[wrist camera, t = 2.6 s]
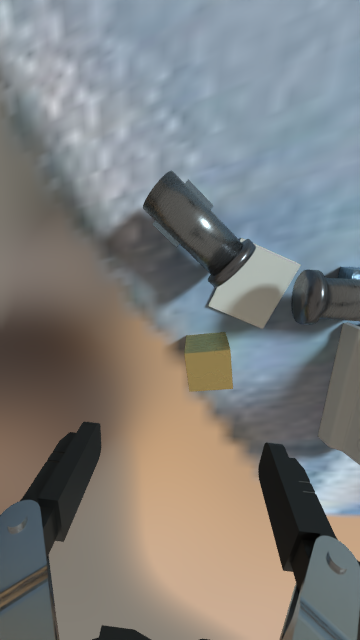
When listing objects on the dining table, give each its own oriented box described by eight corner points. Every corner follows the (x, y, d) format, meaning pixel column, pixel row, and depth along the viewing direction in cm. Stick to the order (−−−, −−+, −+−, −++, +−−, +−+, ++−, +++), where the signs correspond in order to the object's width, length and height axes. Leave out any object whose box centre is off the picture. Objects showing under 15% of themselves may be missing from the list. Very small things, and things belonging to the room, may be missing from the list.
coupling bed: (299, 264, 24) (300, 264, 24) (262, 328, 27) (262, 329, 26) (240, 237, 24) (241, 237, 23) (208, 305, 26) (208, 306, 26)
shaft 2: (382, 269, 24) (444, 281, 18) (366, 314, 25) (419, 340, 19) (291, 264, 24) (322, 274, 18) (282, 309, 26) (308, 332, 20)
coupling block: (225, 331, 27) (230, 349, 23) (227, 365, 29) (232, 388, 25) (186, 335, 28) (184, 353, 24) (190, 368, 29) (189, 391, 25)
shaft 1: (148, 217, 24) (131, 212, 18) (181, 176, 22) (175, 155, 16) (211, 278, 25) (216, 292, 19) (246, 243, 24) (262, 247, 18)
